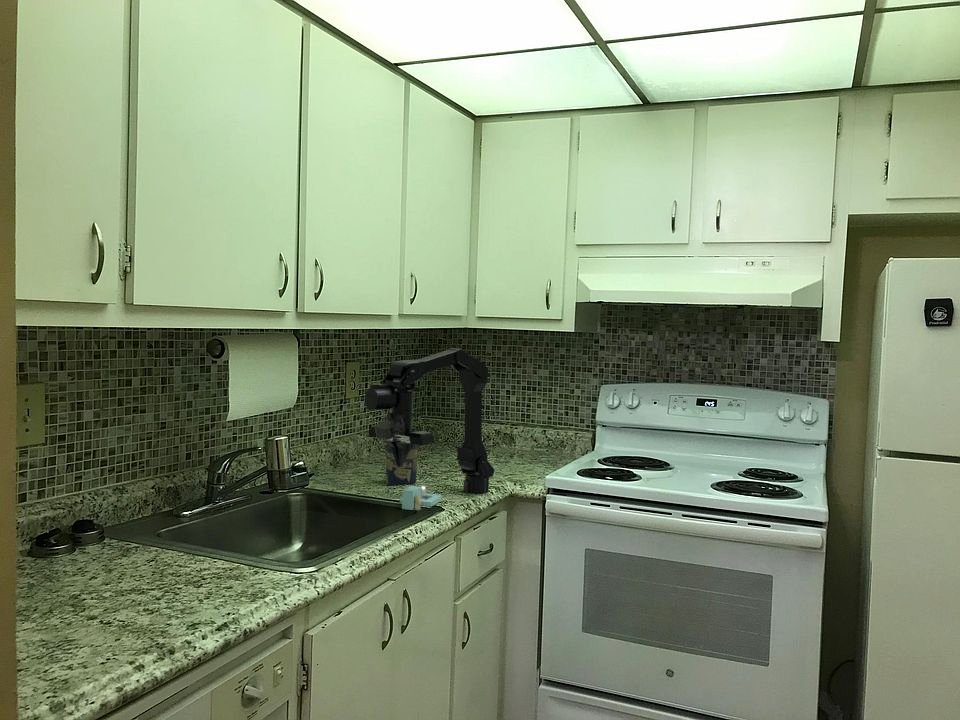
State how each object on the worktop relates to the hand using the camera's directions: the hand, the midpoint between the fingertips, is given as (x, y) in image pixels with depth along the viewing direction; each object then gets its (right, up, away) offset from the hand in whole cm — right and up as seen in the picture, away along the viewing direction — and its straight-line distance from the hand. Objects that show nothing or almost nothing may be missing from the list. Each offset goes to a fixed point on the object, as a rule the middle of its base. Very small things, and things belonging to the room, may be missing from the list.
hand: (399, 466), depth 205 cm
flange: (+5, -10, +3) cm, 12 cm away
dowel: (+5, -11, -3) cm, 12 cm away
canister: (-3, -10, +31) cm, 32 cm away
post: (+5, -10, +6) cm, 13 cm away
